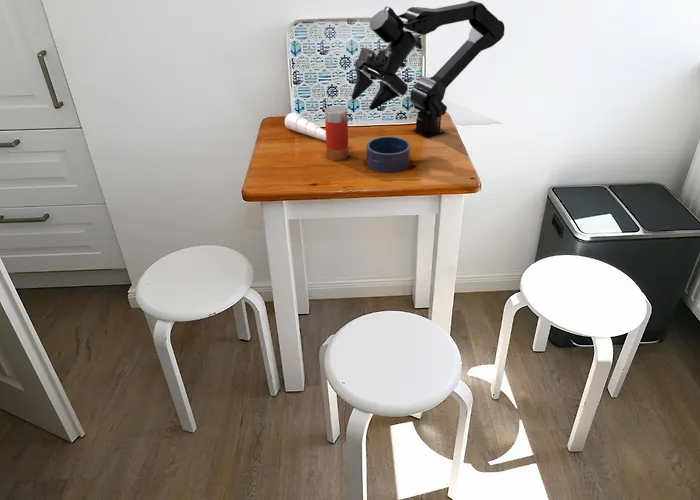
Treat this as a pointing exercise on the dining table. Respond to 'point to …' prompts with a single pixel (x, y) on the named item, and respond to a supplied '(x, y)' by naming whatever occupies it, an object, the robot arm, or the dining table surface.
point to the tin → (336, 132)
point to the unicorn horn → (304, 126)
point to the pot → (388, 154)
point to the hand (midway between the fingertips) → (361, 103)
